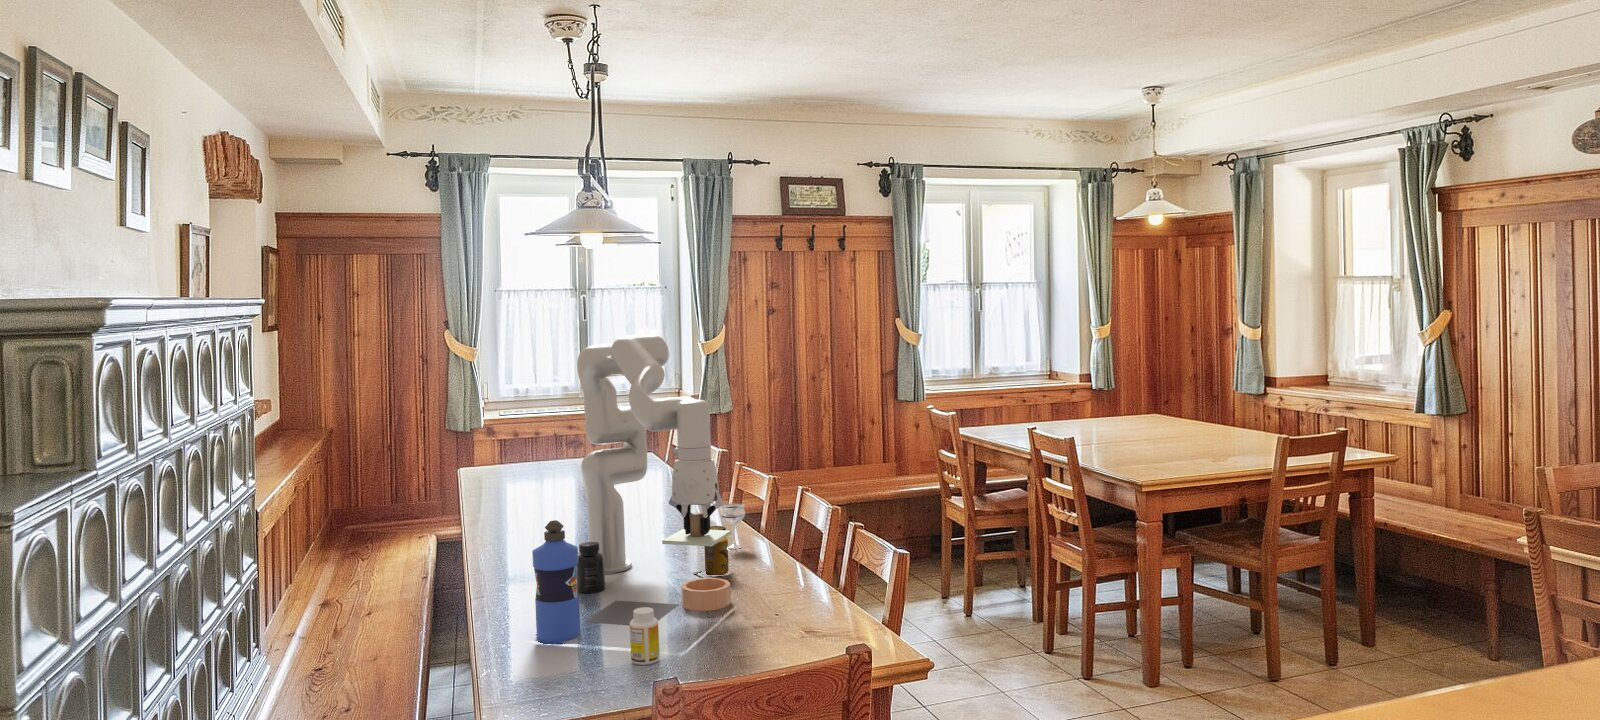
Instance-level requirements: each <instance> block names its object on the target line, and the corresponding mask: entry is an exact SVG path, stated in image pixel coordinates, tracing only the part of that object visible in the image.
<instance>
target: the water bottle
mask: <svg viewBox="0 0 1600 720" xmlns="http://www.w3.org/2000/svg"><path fill="white" fill-rule="evenodd" d="M563 528H564V524H563V523H561V522H560V521H559V520H550V521H549V522H548V523H547V524H546V525H545V526H544V529H545V530H546V531H544V532H543V533H544V534H543V535H544V541H545V542H544V543H543V544H542V545H540V546H538V547H536V548H535V549H533V550H532V566H533V570H534V577H535V582H536V590H535V592H536V593H535V598H534V599H535V600H534V601H535V604H534V605H535V622H536V623H535V625H536V626H535V627H536V629H535V630H536V639H537V641H538V642H540V643H543V644H542V645H544V644H561V645H564V644H563V643H564V642H567V641H570V640H571V641H572V640H575V639H576V638H578V637H579V636H581V633H582V631H581V614H580V613H581V609H580V595H579V594H580V593H578V588H577V580H576V579H577V565H578V551H579V546H578V545H577V546H576V545H574V544H572V543H569V542H567V541H566V540H565V539H566V531H565V530H564V529H563ZM538 642H537V643H538ZM540 643H539V644H540Z"/></svg>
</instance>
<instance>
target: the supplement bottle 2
mask: <svg viewBox="0 0 1600 720" xmlns="http://www.w3.org/2000/svg"><path fill="white" fill-rule="evenodd" d="M659 635H660V634H659V620H657V619H656V618H655V617H654V610H653V609H652V608H649V607H642V608H637V609H635V610H634V611H633V619H632V620H631V621H630V625H629V639H630V657H631V662H632V663H633V664H634V665H639V666H647V665H652V664H655V663H657V662H658V661H659V660H660V636H659Z"/></svg>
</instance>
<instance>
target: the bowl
mask: <svg viewBox="0 0 1600 720" xmlns="http://www.w3.org/2000/svg"><path fill="white" fill-rule="evenodd" d="M680 589H681V590H680V591H681V592H680V593H681V605H682V608H684V609H687V610H689V611H694V612H695V611H697V612H708V611H717V610H721V609H723V608H726V607H729V605H730V604H732V596H731V595H732V594H731V593H732V591H731V589H732V588H731V583H730V582H729V580H728V579H723V578H722V577H716V578H702V577H700V578H694V579H691V580H685V581H684V583H682V584H681V585H680Z"/></svg>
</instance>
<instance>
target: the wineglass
mask: <svg viewBox="0 0 1600 720" xmlns="http://www.w3.org/2000/svg"><path fill="white" fill-rule="evenodd" d="M720 508H722V509H721V513H720V514H721V515H720V516H721V518H722V520H723V521H725V523H727V524H730V526H731V527H732V529H731V533H732V543H733V544H731V545H728V548H739V547H741V546H742V545H739V544H735V543H736V540H735V539H736V536H735V535H736V533H735V532H736V526H737V524H739V523H740V522H742V521H743V520H744V518H745V516H746V511H745V509H744V508H745V504H744V503H738V502H737V503H735V502H734V503H733V502H732V503H724V505H723V506H721V507H720Z"/></svg>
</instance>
